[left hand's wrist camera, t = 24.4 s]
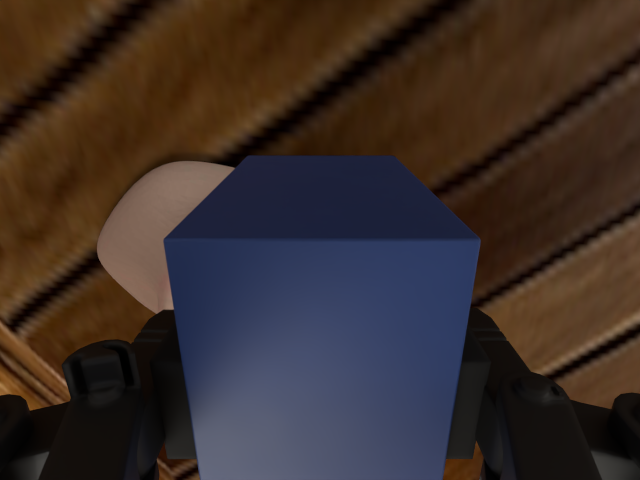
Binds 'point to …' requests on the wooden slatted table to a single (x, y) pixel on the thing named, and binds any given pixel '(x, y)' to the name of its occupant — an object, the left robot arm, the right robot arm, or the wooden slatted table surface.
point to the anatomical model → (153, 227)
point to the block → (321, 320)
